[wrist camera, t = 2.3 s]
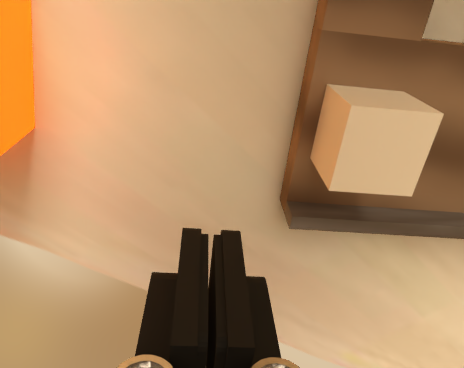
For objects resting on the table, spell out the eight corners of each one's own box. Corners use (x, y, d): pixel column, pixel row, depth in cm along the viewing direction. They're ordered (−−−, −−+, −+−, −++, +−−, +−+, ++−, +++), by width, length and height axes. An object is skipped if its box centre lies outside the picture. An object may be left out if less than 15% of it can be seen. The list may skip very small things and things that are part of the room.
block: (327, 84, 23) (351, 105, 19) (404, 91, 23) (443, 114, 19) (310, 158, 25) (328, 190, 21) (380, 163, 26) (411, 196, 22)
